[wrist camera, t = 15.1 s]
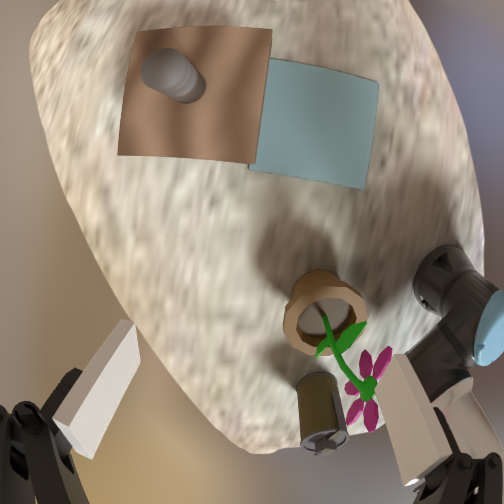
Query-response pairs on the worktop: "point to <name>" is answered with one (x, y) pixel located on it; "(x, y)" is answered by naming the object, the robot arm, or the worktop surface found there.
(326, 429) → the canister
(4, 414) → the robot arm
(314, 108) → the mat
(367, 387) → the flowerpot
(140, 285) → the worktop surface
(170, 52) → the lid
